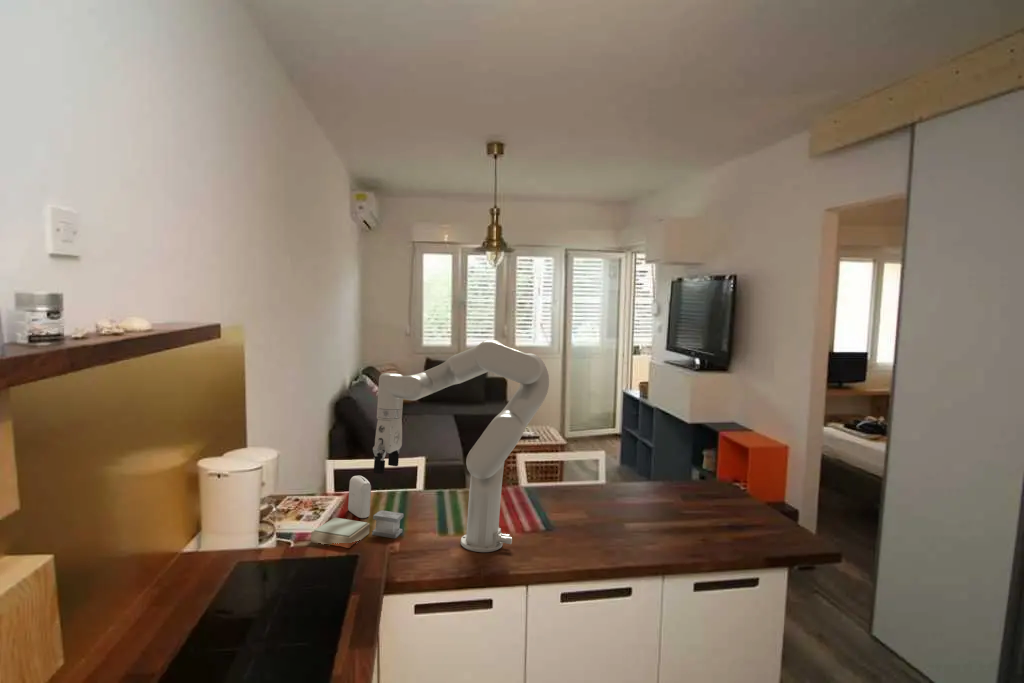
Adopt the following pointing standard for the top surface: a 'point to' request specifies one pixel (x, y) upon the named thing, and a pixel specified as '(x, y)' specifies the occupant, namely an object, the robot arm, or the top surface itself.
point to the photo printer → (359, 496)
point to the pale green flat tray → (340, 531)
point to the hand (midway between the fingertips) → (386, 469)
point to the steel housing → (387, 524)
